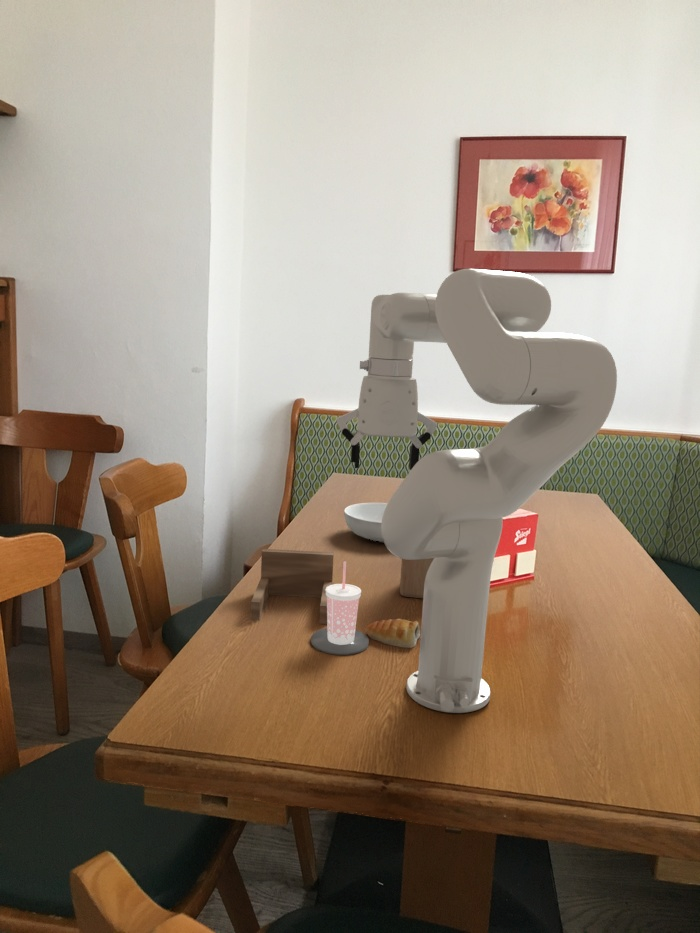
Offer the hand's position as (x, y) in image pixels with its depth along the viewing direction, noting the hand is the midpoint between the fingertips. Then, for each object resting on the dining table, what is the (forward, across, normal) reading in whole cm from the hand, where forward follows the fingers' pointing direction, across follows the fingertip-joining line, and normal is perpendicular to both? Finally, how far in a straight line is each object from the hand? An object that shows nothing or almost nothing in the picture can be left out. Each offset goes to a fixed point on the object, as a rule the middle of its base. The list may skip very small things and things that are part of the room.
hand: (384, 468), depth 131 cm
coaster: (+30, -6, -7) cm, 31 cm away
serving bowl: (+30, +5, +58) cm, 65 cm away
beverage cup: (+29, -6, -7) cm, 31 cm away
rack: (+30, -15, +8) cm, 34 cm away
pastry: (+30, +4, -5) cm, 31 cm away
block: (+30, +12, +20) cm, 38 cm away
